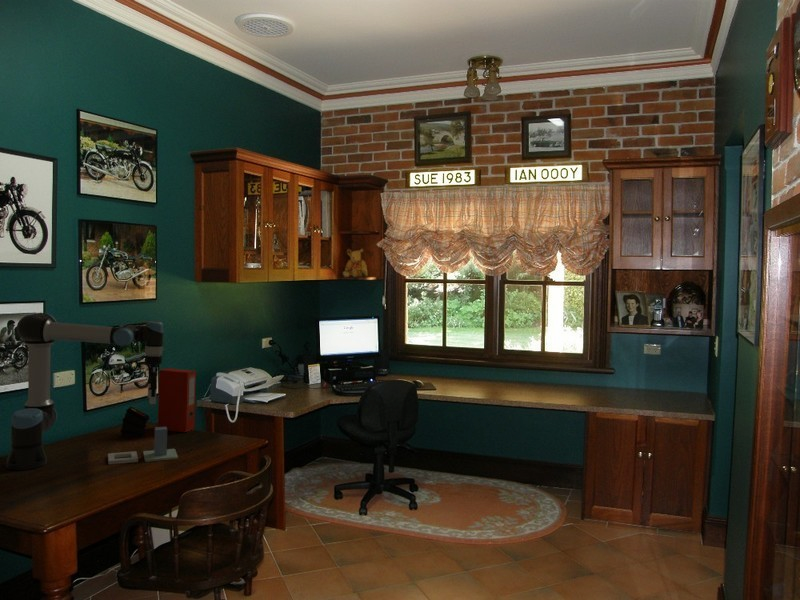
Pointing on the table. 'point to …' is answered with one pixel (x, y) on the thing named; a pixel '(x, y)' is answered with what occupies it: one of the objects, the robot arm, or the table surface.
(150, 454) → the pad
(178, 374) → the file binder
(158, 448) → the slate block
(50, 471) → the table surface
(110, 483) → the table surface
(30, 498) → the table surface
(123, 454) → the pocket collar
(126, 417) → the black slab
